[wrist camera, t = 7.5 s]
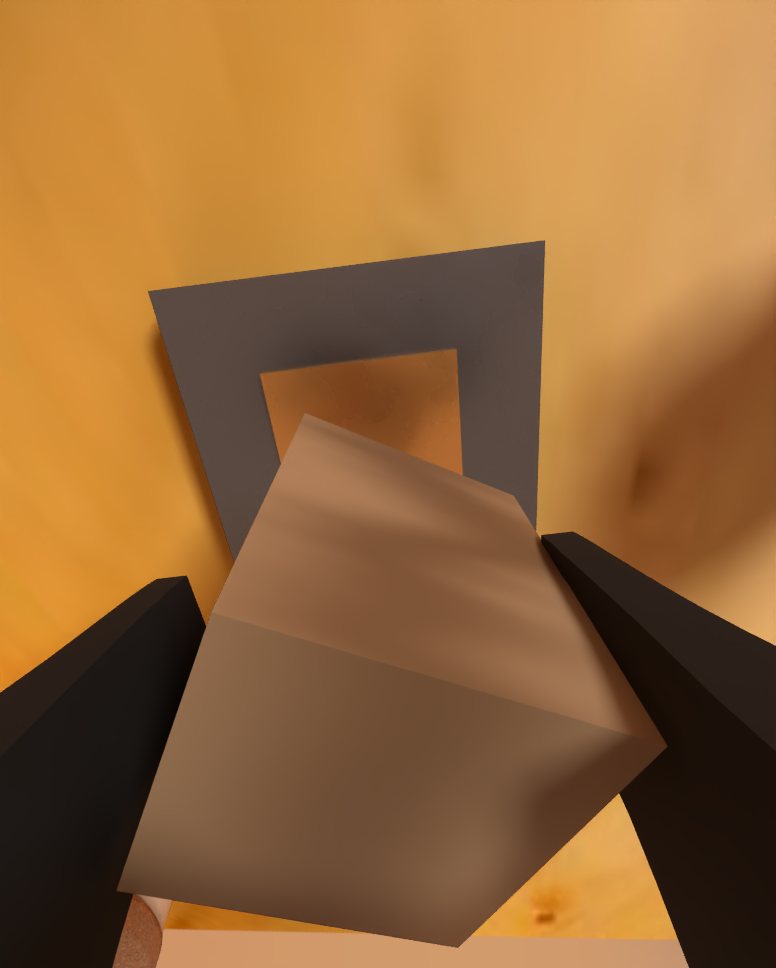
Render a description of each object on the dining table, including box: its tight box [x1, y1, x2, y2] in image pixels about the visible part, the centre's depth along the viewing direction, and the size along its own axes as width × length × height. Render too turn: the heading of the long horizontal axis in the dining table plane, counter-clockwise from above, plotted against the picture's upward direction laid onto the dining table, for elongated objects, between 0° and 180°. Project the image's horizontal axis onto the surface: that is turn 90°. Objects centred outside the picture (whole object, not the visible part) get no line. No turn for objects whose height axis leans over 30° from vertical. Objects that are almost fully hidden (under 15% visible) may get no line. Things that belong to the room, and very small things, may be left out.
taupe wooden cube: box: [116, 413, 668, 948], centre depth 8 cm, size 5×5×6 cm
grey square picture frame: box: [148, 240, 545, 563], centre depth 17 cm, size 12×12×2 cm
